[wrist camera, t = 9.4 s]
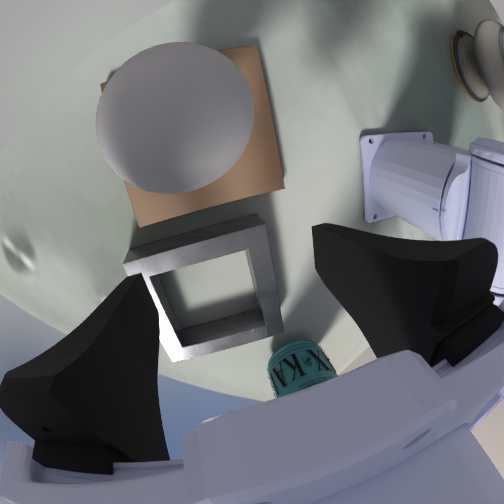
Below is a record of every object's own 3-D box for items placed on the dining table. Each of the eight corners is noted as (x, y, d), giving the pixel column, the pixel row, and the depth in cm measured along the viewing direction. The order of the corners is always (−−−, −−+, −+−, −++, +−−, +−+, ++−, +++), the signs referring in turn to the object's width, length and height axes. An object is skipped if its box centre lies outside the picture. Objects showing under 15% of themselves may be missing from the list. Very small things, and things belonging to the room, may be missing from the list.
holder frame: (256, 213, 21) (265, 224, 19) (276, 315, 26) (284, 331, 24) (128, 249, 20) (122, 264, 18) (172, 343, 25) (172, 362, 23)
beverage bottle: (321, 354, 31) (400, 494, 13) (270, 377, 30) (329, 527, 13) (311, 319, 27) (413, 487, 10) (252, 345, 27) (320, 531, 10)
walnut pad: (253, 48, 16) (256, 45, 15) (280, 185, 21) (284, 188, 20) (104, 86, 14) (100, 84, 14) (141, 223, 20) (139, 227, 19)
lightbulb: (130, 98, 15) (54, 62, 5) (218, 72, 15) (248, 1, 5) (152, 180, 17) (103, 239, 8) (238, 155, 18) (292, 182, 8)
